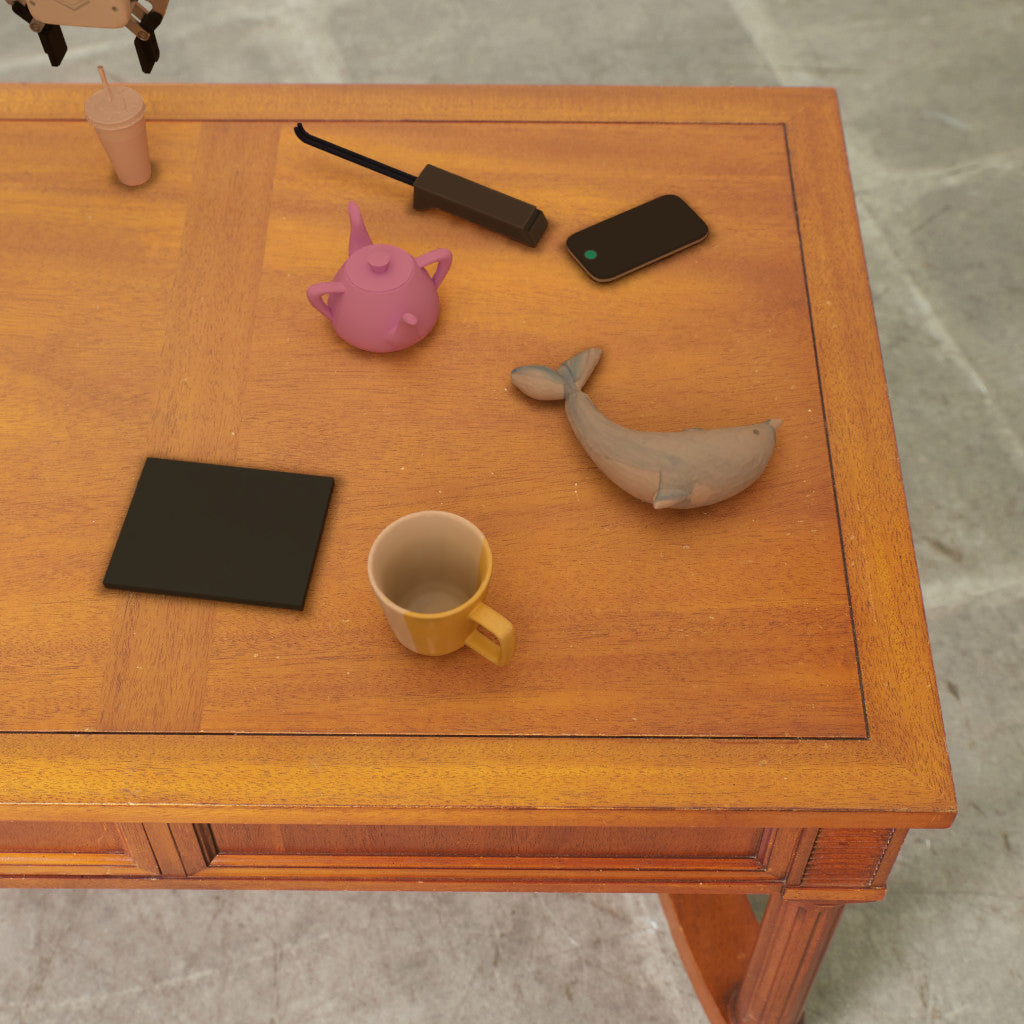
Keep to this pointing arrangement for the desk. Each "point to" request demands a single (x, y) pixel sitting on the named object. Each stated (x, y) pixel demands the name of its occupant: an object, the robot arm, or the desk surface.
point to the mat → (221, 533)
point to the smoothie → (121, 129)
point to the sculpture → (654, 443)
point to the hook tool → (453, 195)
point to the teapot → (381, 293)
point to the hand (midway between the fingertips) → (105, 61)
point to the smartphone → (636, 238)
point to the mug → (438, 586)
